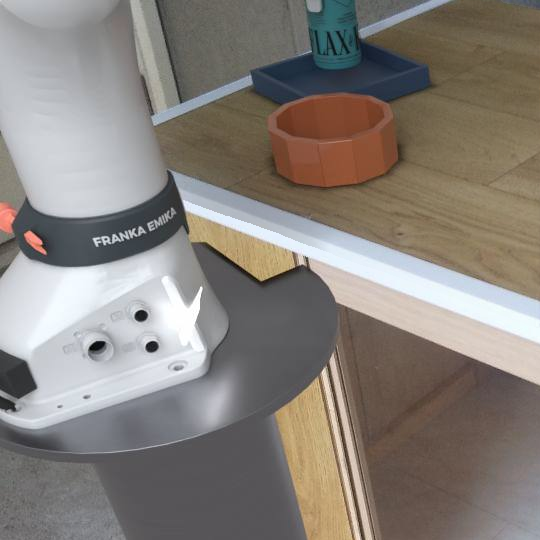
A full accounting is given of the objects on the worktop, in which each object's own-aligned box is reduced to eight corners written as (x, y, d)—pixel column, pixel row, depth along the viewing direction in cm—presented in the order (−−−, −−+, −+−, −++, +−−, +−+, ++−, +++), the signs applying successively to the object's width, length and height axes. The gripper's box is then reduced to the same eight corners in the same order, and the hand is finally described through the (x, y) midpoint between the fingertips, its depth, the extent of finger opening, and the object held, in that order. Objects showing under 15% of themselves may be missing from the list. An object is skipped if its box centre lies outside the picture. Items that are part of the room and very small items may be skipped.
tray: (319, 124, 123) (315, 103, 121) (254, 90, 131) (249, 70, 129) (430, 86, 131) (428, 66, 129) (362, 57, 140) (360, 37, 138)
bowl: (320, 198, 109) (312, 153, 105) (254, 159, 116) (244, 116, 112) (421, 159, 115) (416, 116, 112) (352, 125, 123) (346, 83, 119)
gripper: (326, -150, 122) (344, -25, 131) (242, -112, 108) (269, 24, 118) (372, -148, 120) (387, -22, 130) (293, -109, 106) (316, 29, 116)
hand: (330, 1), depth 124 cm, fingers closed on beverage bottle, 6 cm apart
